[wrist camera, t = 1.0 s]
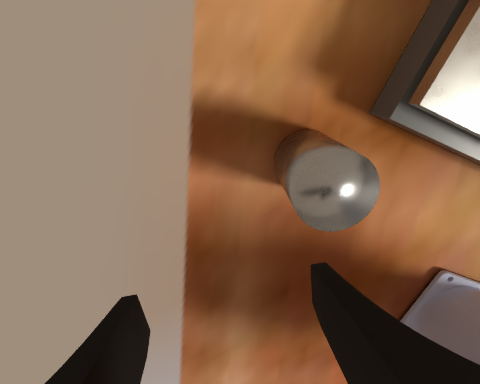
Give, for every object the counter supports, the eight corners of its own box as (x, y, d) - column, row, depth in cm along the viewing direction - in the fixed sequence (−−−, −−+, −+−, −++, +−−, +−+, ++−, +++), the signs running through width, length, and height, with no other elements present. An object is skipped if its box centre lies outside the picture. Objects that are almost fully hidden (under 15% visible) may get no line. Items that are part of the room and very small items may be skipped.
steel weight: (347, 143, 20) (396, 169, 14) (317, 198, 21) (351, 241, 15) (291, 119, 19) (319, 136, 13) (263, 177, 20) (278, 215, 15)
